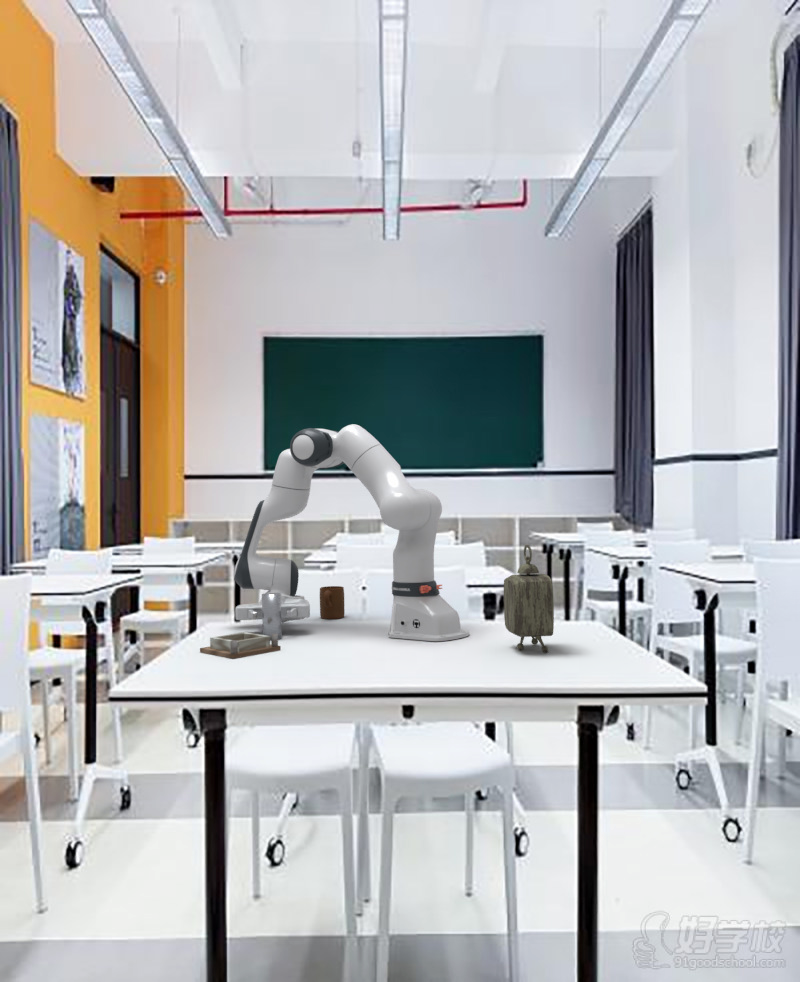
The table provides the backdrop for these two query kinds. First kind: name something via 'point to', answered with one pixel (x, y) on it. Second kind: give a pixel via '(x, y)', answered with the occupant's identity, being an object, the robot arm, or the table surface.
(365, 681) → the table surface
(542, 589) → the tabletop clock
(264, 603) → the pin
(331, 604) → the mug
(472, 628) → the table surface
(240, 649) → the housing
